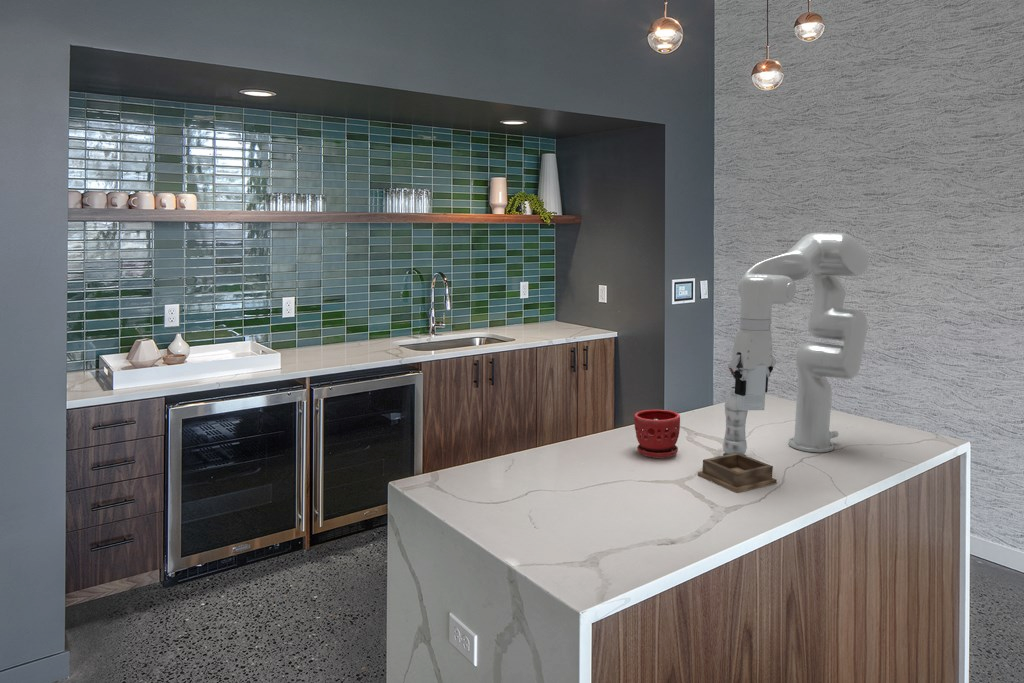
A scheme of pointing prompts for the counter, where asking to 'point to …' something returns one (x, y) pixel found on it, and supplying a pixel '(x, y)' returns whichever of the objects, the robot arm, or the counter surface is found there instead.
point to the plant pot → (657, 432)
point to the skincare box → (754, 389)
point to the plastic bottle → (734, 426)
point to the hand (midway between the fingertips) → (750, 392)
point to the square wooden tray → (737, 472)
